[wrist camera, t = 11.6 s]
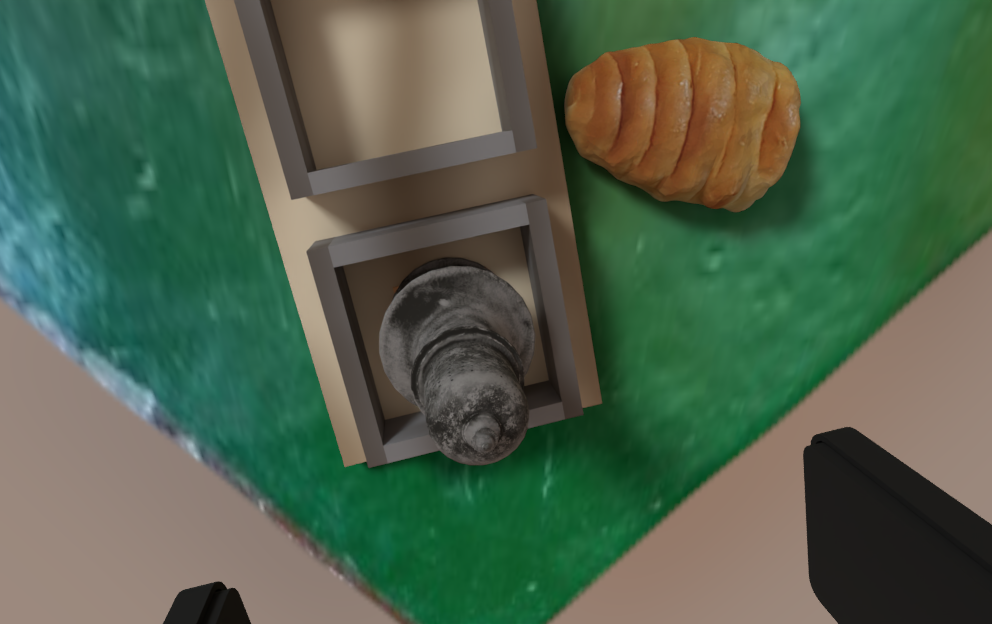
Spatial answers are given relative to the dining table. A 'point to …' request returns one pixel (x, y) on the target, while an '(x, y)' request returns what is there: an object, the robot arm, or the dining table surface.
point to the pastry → (687, 120)
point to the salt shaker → (461, 357)
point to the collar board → (408, 185)
